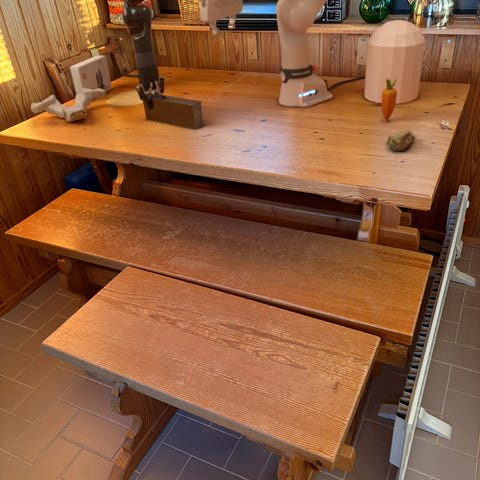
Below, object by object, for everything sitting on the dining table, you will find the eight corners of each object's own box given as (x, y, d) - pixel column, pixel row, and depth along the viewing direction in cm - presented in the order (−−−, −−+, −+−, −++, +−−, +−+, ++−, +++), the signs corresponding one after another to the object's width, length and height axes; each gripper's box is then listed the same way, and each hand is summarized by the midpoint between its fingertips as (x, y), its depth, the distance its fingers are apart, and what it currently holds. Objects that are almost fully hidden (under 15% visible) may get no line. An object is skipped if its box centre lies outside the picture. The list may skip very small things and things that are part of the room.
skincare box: (87, 102, 214) (77, 67, 204) (78, 102, 215) (68, 66, 206) (113, 88, 229) (105, 54, 220) (104, 88, 231) (96, 54, 222)
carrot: (394, 118, 167) (398, 76, 158) (393, 123, 163) (397, 80, 154) (379, 117, 168) (383, 75, 160) (378, 122, 165) (382, 80, 156)
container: (387, 107, 176) (395, 28, 160) (353, 94, 192) (357, 21, 176) (429, 96, 183) (441, 19, 167) (393, 84, 199) (400, 12, 183)
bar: (146, 119, 189) (141, 96, 183) (154, 115, 192) (150, 92, 186) (196, 129, 175) (192, 104, 169) (204, 125, 178) (200, 100, 172)
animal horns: (27, 127, 191) (17, 99, 184) (60, 107, 212) (52, 81, 206) (89, 127, 185) (81, 97, 179) (116, 106, 206) (110, 79, 200)
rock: (408, 140, 153) (379, 139, 152) (414, 122, 149) (384, 120, 148) (421, 154, 144) (391, 153, 143) (428, 135, 140) (396, 133, 139)
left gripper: (152, 58, 182) (160, 100, 192) (125, 67, 173) (135, 112, 183) (166, 59, 178) (173, 103, 188) (139, 69, 169) (148, 114, 179)
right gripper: (208, -8, 149) (213, 38, 157) (244, -17, 162) (247, 25, 170) (193, -8, 153) (198, 37, 160) (229, -17, 166) (233, 25, 173)
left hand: (154, 107), depth 185 cm, fingers closed on bar, 4 cm apart
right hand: (224, 31), depth 165 cm, fingers open, 8 cm apart
